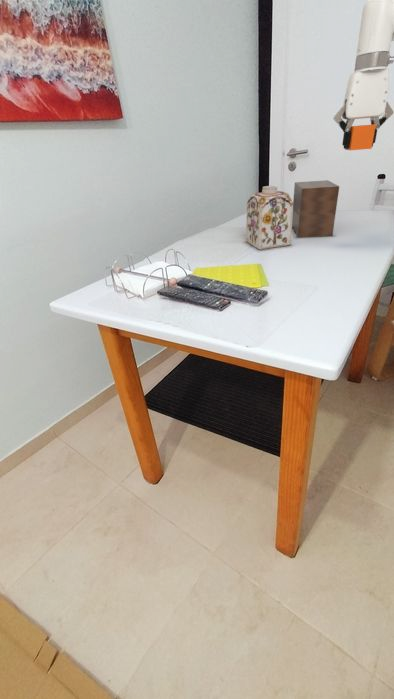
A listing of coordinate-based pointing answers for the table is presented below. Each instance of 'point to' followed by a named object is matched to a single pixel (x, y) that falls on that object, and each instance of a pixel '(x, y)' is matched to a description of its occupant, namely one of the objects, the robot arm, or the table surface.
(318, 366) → the table surface
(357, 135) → the cube
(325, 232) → the wooden grain block
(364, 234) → the table surface
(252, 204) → the decorative jar
